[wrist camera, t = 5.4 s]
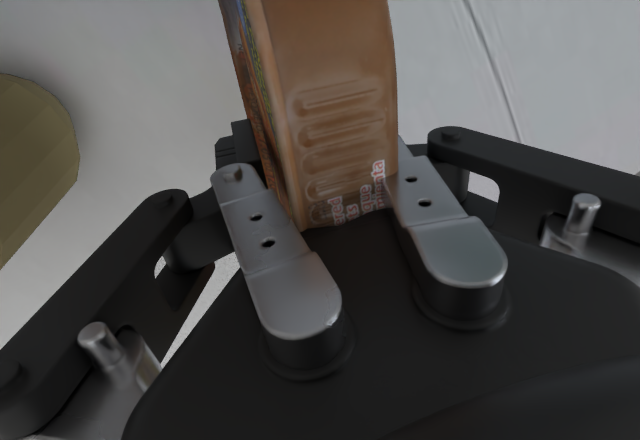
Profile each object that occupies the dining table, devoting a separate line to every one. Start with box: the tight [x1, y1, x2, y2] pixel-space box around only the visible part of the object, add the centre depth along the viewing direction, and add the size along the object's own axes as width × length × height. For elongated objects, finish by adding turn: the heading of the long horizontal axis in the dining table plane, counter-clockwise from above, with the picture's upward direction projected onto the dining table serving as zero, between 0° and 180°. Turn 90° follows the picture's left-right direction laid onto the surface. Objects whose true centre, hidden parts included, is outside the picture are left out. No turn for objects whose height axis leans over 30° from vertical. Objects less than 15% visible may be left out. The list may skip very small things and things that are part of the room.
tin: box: [218, 0, 398, 232], centre depth 12 cm, size 15×3×8 cm, turn 7°
